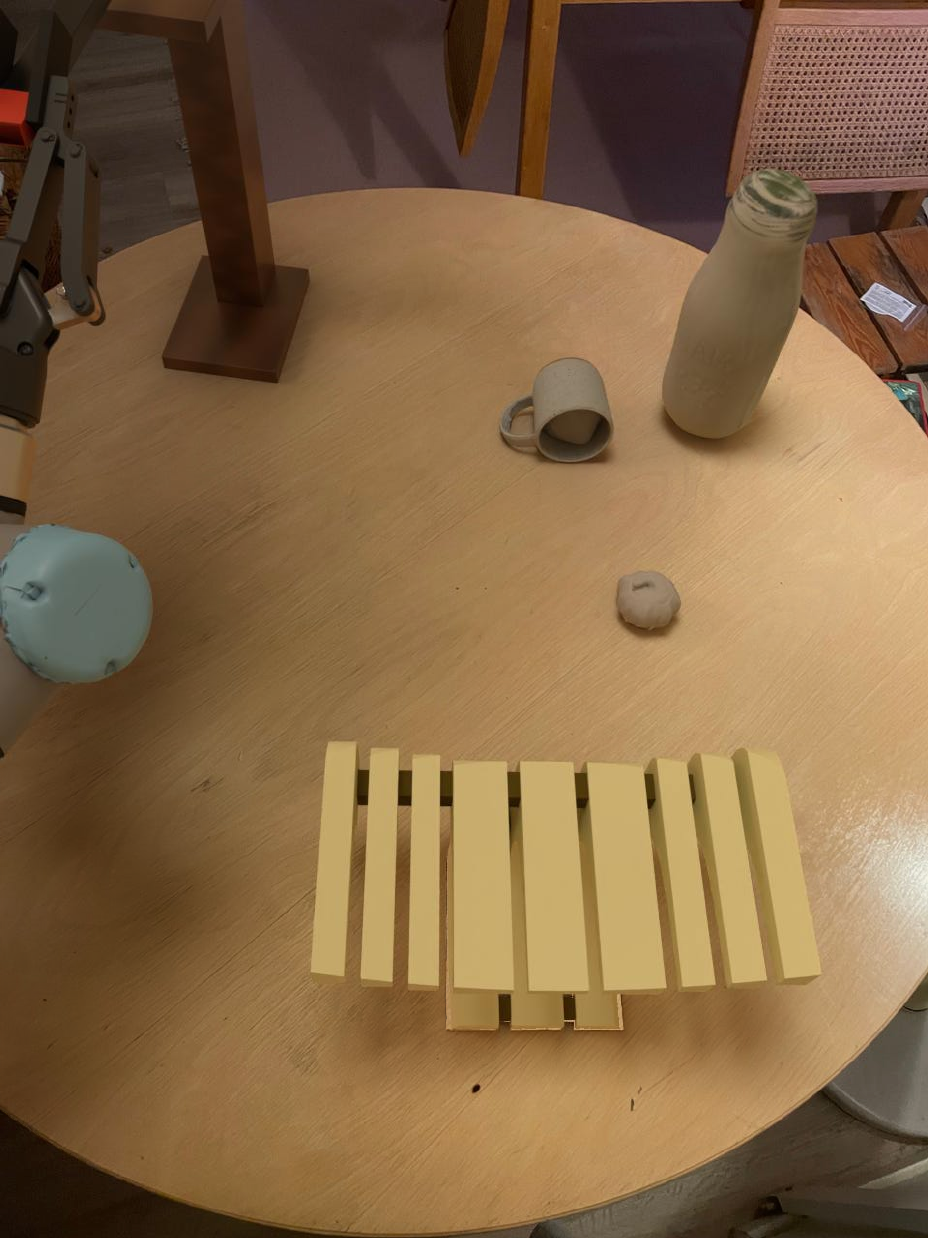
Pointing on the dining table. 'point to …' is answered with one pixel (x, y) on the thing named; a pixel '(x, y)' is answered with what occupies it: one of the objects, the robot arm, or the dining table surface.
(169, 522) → the dining table surface
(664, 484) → the dining table surface
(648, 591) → the garlic
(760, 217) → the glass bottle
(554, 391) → the ceramic mug
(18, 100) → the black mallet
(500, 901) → the slatted curved stool
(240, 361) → the wooden post stand
